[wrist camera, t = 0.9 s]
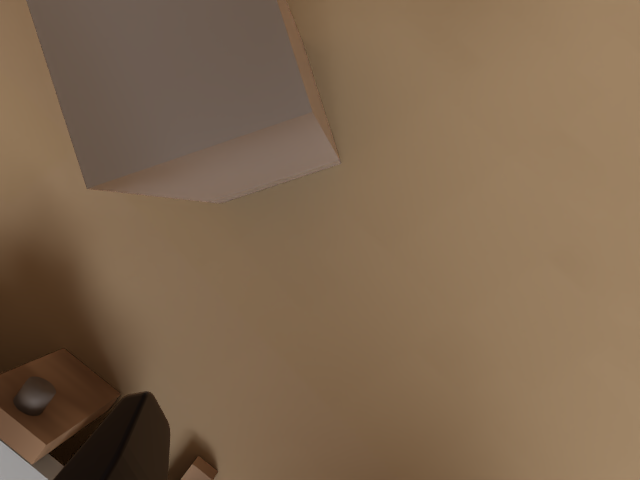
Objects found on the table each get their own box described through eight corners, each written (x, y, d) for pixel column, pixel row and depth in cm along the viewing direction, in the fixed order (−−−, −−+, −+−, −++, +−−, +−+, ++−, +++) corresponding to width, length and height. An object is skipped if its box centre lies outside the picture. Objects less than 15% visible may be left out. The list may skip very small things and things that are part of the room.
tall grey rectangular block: (341, 163, 23) (312, 112, 12) (220, 203, 23) (86, 189, 13) (301, 39, 23) (237, -125, 12) (181, 82, 23) (14, -39, 12)
